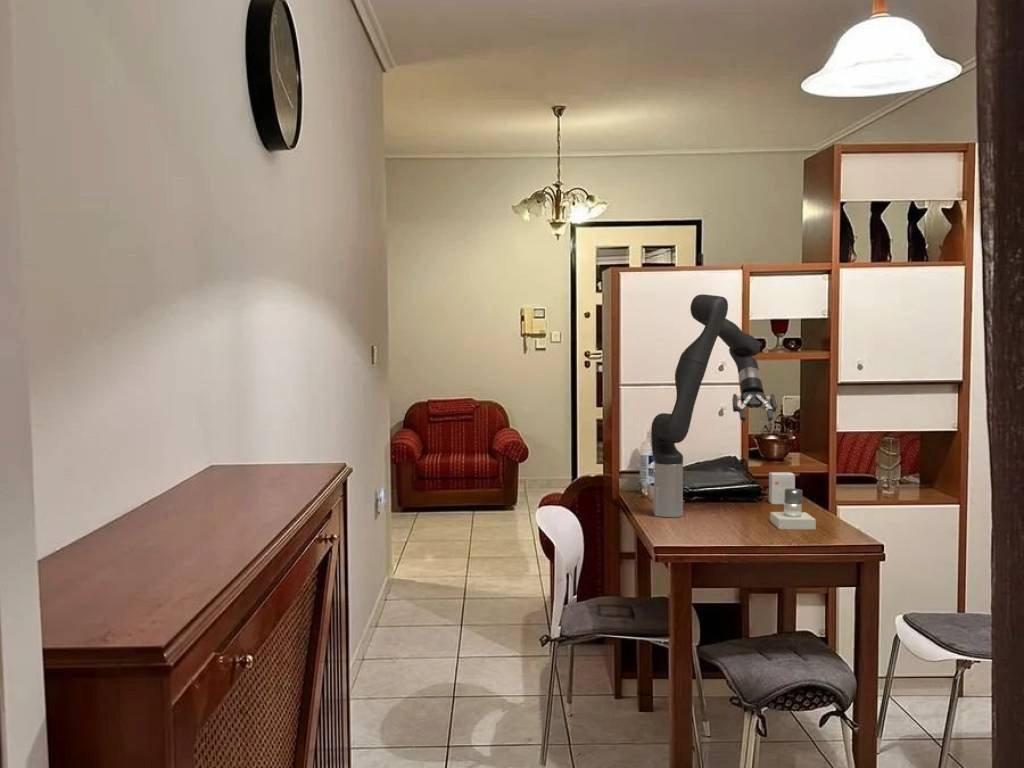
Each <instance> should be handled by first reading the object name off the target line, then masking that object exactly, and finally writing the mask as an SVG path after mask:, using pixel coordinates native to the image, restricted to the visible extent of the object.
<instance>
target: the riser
mask: <svg viewBox="0 0 1024 768" xmlns="http://www.w3.org/2000/svg"><path fill="white" fill-rule="evenodd" d="M769 517H770V519H769V520H770V523H771V524H773V525H774V526H775V528H777V529H778V530H816V528H817V526H816V525H817V523H816V522H817V521H816V520H817V519H815V518H814V517H813V516H811V515H810V514H809V513H807V512H804V511H803V512H802V511H801V517H788V516H784V511H770V516H769Z"/></svg>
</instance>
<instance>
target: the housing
mask: <svg viewBox="0 0 1024 768" xmlns="http://www.w3.org/2000/svg"><path fill="white" fill-rule="evenodd" d="M802 505H803V490H802V489H800V488H795V489H793V488H788V489H785V497H784V504H783V512H784V516H788V517H801V512H802V511H803V510H802V507H803V506H802Z"/></svg>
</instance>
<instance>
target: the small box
mask: <svg viewBox="0 0 1024 768" xmlns="http://www.w3.org/2000/svg"><path fill="white" fill-rule="evenodd" d="M788 488H793V489H796V475H795V474H794V473H792V472H787V471H786V472H783V471H782V472H778V471H776V472H774V471H773V472H768V502H769V503H770V504H771V505H784V497H785V489H788Z"/></svg>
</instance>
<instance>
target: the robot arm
mask: <svg viewBox="0 0 1024 768" xmlns="http://www.w3.org/2000/svg"><path fill="white" fill-rule="evenodd" d="M728 309H729V303H728V300H727V298H726V297H724V296H720V295H712V294H697V295H696V296H694V297H693V299H692V301H691V303H690V314H691V316H692V318H693V320H696V322H698V323H700V324H701V325H703V326H704V328H703V330H702V332H700V335H699V336H698V337H697V338H696V339H695V340H694V341H692V342H691V344H689V345H688V346H687V347H686V348H685V350H683V351H682V353H681V355H680V357H679V360H678V363H677V366H676V368H675V372H674V384H675V389H676V398H675V399H676V400H675V402H674V406H673V409H672V411H671V413H668V412H667V413H663V412H661V413H658V414H657V415H655V417H654V418H653V420H652V423H651V429H650V430H651V431H650V432H651V434H650V435H651V436H650V437H651V438H650V439H651V453H652V455H653V458H654V467H653V469H654V471H653V473H654V475H653V476H654V478H653V479H654V481H653V482H654V483H653V485H652V486H653V488H652V489H653V490H652V491H653V493H652V495H653V498H652V499H653V500H652V501H653V504H652V505H653V506H652V508H653V509H652V510H653V511H652V513H653V514H654V516H655V517H660V518H679V517H682V516H683V515H684V514H683V510H684V509H683V505H684V504H683V502H684V500H683V499H684V498H683V497H684V496H683V495H684V490H683V489H684V488H683V487H684V456H683V454H682V453H681V452H680V451H679V450H678V449H677V446H676V444H679V443H682V442H683V441H684V440H685V439H686V437H687V435H688V433H689V431H690V427H691V422H692V417H693V413H694V408H695V404H696V401H697V397H698V395H699V390H700V388H701V384H702V382H703V380H704V377H705V374H706V371H707V367H708V364H709V360H710V357H711V355H712V352H713V349H714V346H715V344H716V341H717V339H718V337H719V338H720V339H721V341H723V343H725V345H726V346H728V347H729V349H728V353H729V355H730V356H731V358H732V360H733V361H734V364H735V366H736V368H737V373H738V385H739V390H740V395H738V394H736V393H734V394H733V395H732V411H733V413H739V419H740V420H741V421H742V422H745V421H746V412H745V410H747V409H748V408H750V409H752V408H754V409H755V408H756V409H761V410H762V411H765V413H766V417H767V421H768V422H772V420H773V418H774V414H773V413H776V412H777V409H778V404H777V401H776V397H775V394H774V393H773V394H772V393H771V394H770V395H765V391H764V385H763V382H762V377H761V374H760V369H759V365H758V361H757V360H756V359H755V356H757V355H759V353H760V352H761V351H760V350H761V346H760V343H759V341H758V340H757V338H756V337H754V336H753V335H751V334H748V333H746V332H743V331H742V329H741V328H740V327H739V326H738V325H737V324H736V323H734V321H733V322H732V321H731V320H729V318H727V314H728ZM739 401H741V402H742V404H741V405H740V406H739V405H738V403H739Z"/></svg>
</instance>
